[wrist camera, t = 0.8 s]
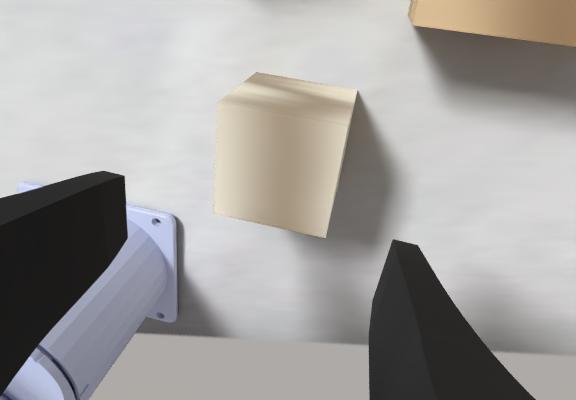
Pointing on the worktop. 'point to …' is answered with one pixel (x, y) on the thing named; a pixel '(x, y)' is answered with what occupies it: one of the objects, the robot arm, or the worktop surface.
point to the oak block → (501, 18)
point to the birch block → (281, 152)
